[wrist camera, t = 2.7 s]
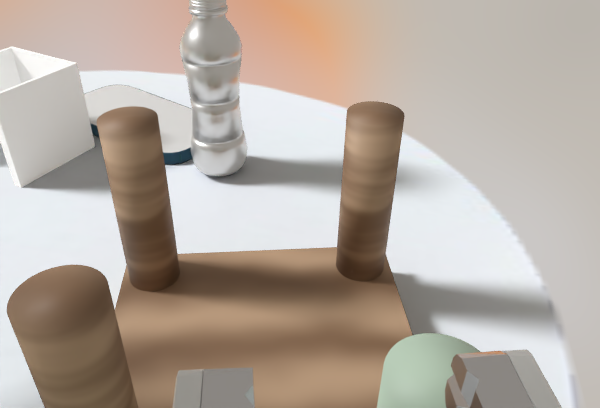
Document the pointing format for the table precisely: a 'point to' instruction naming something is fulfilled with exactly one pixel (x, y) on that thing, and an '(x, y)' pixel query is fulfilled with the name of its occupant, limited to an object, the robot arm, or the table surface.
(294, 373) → the stool
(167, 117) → the external hard drive
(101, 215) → the table surface
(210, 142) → the plastic bottle
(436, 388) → the green piece
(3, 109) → the storage container
